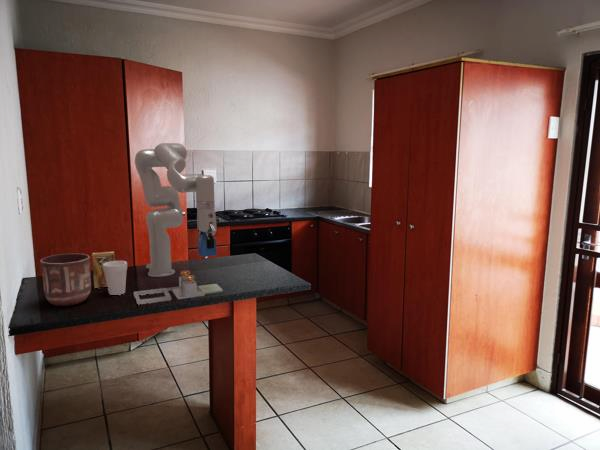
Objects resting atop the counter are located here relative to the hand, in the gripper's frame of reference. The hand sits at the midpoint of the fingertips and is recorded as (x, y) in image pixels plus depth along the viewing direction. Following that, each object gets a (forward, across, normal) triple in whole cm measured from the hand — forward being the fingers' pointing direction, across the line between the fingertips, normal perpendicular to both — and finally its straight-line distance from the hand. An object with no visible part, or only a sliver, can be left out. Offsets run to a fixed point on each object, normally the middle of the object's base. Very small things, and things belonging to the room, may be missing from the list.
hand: (206, 246), depth 196 cm
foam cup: (+19, +18, +33) cm, 42 cm away
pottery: (+20, +17, +52) cm, 58 cm away
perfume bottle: (+4, 0, 0) cm, 4 cm away
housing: (+19, +2, +16) cm, 25 cm away
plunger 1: (+18, +5, +8) cm, 20 cm away
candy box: (+20, +30, +35) cm, 50 cm away
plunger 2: (+18, -3, +9) cm, 20 cm away
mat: (+19, 0, 0) cm, 19 cm away
